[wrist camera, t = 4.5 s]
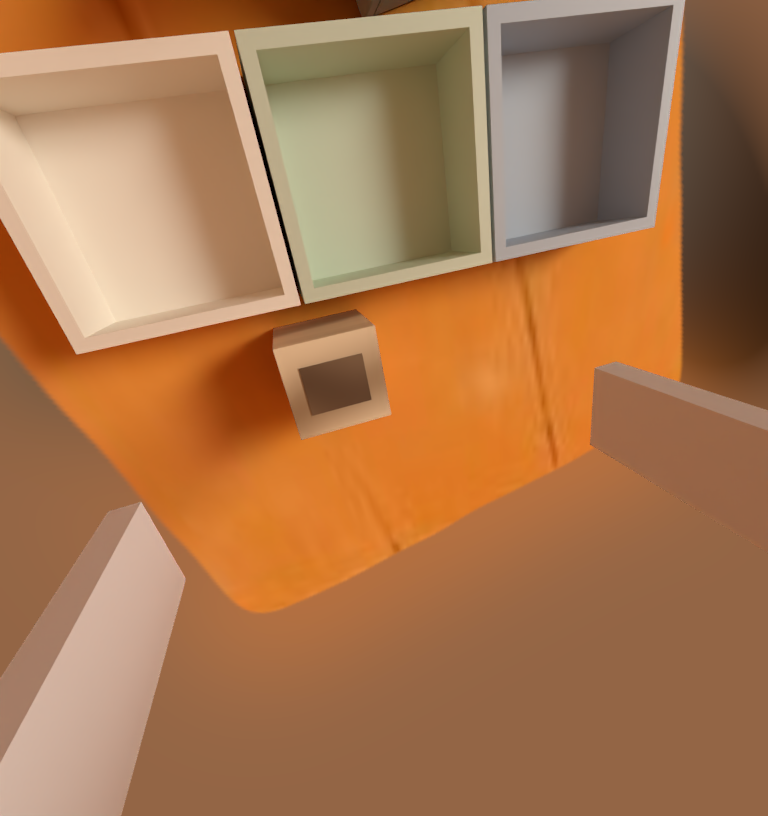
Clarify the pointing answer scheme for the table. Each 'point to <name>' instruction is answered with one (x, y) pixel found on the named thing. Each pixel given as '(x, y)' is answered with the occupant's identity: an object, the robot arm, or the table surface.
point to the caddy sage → (374, 145)
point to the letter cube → (331, 372)
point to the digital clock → (377, 6)
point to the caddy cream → (139, 188)
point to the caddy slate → (576, 118)
